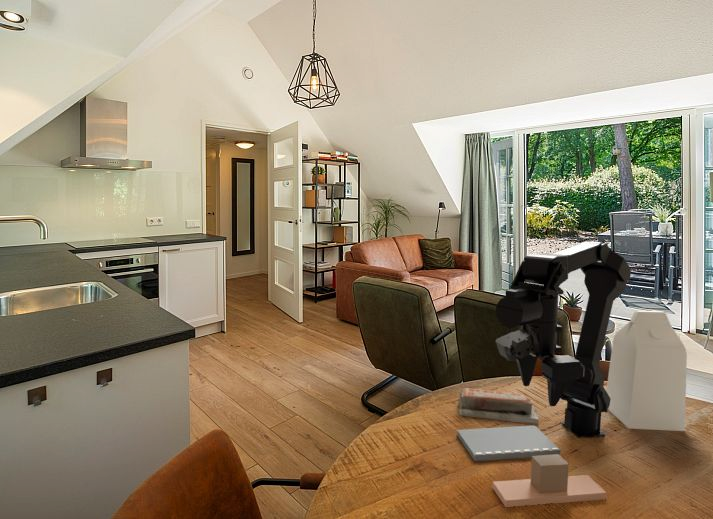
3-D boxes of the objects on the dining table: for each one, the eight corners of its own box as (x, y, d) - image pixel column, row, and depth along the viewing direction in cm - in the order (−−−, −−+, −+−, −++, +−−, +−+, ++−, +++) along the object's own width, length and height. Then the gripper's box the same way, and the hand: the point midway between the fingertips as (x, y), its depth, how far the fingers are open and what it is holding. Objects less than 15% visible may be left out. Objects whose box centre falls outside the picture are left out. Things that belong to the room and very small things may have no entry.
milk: (654, 407, 106) (662, 306, 104) (684, 431, 95) (694, 318, 92) (604, 405, 108) (610, 305, 105) (628, 428, 96) (636, 316, 94)
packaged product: (459, 398, 102) (459, 382, 111) (459, 417, 102) (459, 400, 112) (539, 406, 98) (532, 389, 107) (539, 426, 98) (531, 407, 108)
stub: (586, 481, 77) (588, 448, 77) (606, 499, 72) (608, 465, 72) (492, 488, 75) (493, 455, 75) (505, 507, 70) (506, 472, 70)
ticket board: (534, 430, 95) (534, 424, 95) (560, 455, 85) (560, 449, 85) (457, 435, 93) (457, 429, 93) (474, 461, 83) (474, 454, 83)
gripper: (481, 310, 90) (480, 380, 92) (528, 335, 72) (526, 422, 74) (529, 307, 92) (527, 376, 94) (588, 331, 74) (584, 416, 75)
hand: (538, 395), depth 84 cm, fingers open, 9 cm apart
